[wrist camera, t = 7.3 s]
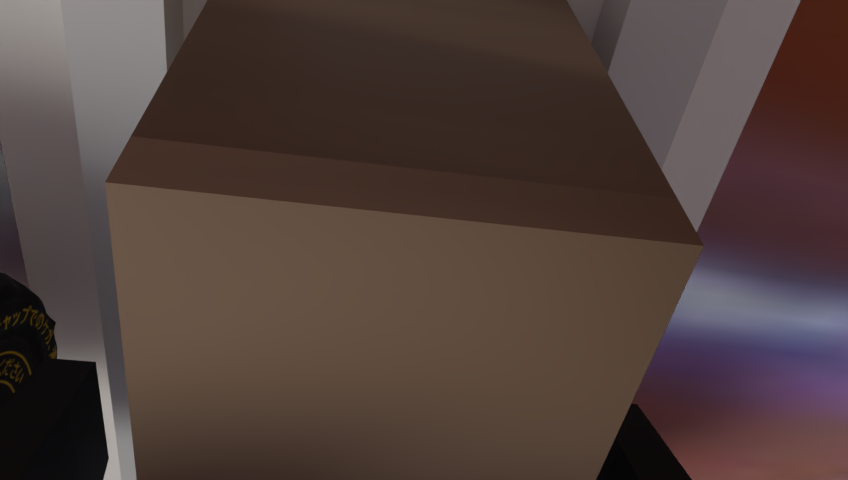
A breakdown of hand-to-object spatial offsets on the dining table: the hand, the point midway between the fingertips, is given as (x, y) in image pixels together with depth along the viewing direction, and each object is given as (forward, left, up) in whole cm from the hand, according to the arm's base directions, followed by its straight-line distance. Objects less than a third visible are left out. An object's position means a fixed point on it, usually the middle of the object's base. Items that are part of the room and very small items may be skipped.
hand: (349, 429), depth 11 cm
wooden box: (0, 0, -3) cm, 3 cm away
